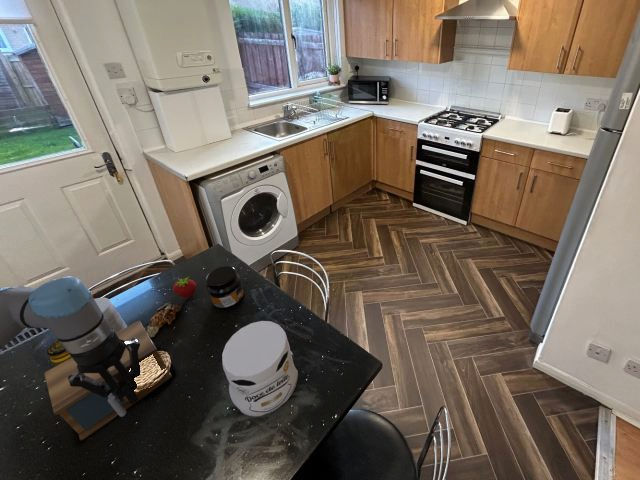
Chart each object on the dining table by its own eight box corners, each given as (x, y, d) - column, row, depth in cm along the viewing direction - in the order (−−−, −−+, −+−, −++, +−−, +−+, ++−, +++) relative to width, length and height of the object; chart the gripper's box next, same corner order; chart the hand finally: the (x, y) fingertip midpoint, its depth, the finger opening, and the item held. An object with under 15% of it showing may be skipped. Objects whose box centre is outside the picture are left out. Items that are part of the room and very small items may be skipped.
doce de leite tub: (273, 433, 76) (259, 393, 67) (219, 406, 81) (199, 366, 73) (311, 368, 90) (304, 328, 82) (263, 349, 96) (251, 309, 87)
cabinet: (69, 401, 82) (44, 372, 76) (155, 348, 96) (139, 320, 89) (81, 441, 75) (53, 413, 68) (172, 377, 88) (156, 348, 82)
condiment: (87, 380, 87) (65, 354, 81) (51, 387, 86) (27, 361, 80) (101, 356, 93) (82, 330, 88) (68, 362, 92) (47, 336, 86)
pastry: (138, 336, 99) (134, 329, 97) (165, 306, 110) (162, 299, 108) (159, 338, 99) (155, 331, 97) (184, 308, 109) (180, 300, 107)
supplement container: (231, 314, 107) (222, 289, 101) (206, 307, 109) (196, 282, 103) (250, 292, 116) (244, 267, 110) (227, 285, 118) (219, 262, 112)
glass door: (84, 428, 76) (63, 406, 71) (129, 397, 82) (113, 375, 77) (90, 445, 73) (68, 423, 68) (136, 412, 79) (119, 389, 74)
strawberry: (184, 290, 116) (176, 270, 111) (203, 292, 115) (196, 272, 111) (174, 303, 111) (164, 283, 106) (194, 304, 110) (185, 284, 105)
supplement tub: (136, 325, 103) (117, 294, 95) (121, 352, 95) (100, 319, 87) (102, 331, 101) (81, 299, 94) (85, 358, 93) (60, 326, 86)
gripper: (52, 373, 60) (105, 433, 72) (132, 328, 69) (167, 388, 80) (46, 350, 64) (97, 410, 76) (122, 310, 73) (157, 369, 85)
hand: (133, 398), depth 78 cm, fingers closed
